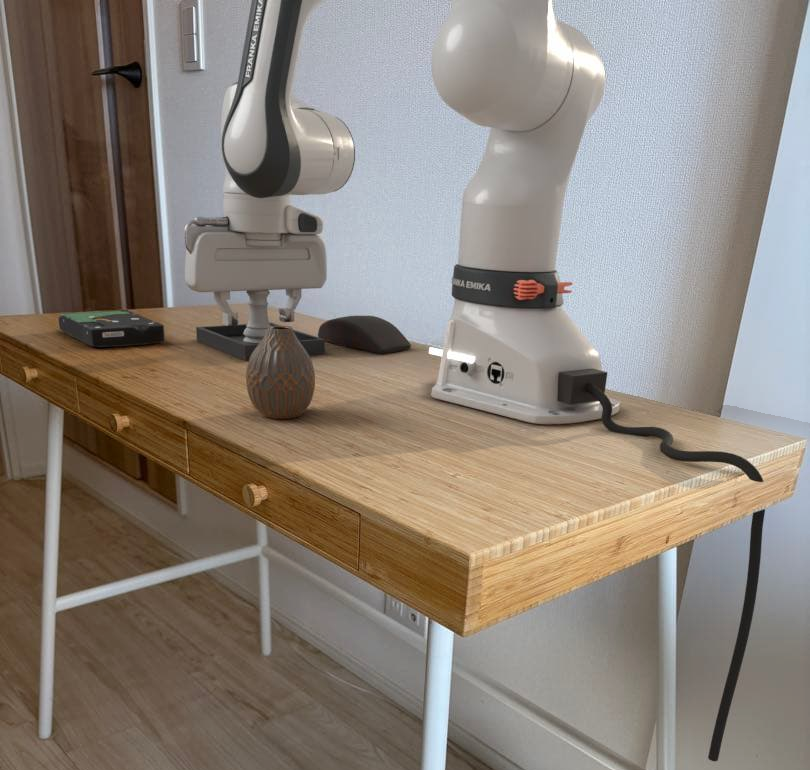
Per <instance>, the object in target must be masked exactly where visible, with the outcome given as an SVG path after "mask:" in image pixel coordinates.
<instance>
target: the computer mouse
mask: <svg viewBox="0 0 810 770" xmlns="http://www.w3.org/2000/svg"><path fill="white" fill-rule="evenodd" d="M317 337H318V338H321V339H324V340H325V342H326V343H329V344H333V345H338V346H343V347H347V348H350V349H356V350H359V351H360V350H361V351H365V352H370V353H375V354H380V355H385V354H390V353H396V352H403V351H409V350H410V349H411V348H412V347H411V346H412V345H411V343H410V341H409V339H407V338H406V336H405V335H404V334H403V333H402V332H401V331H400V329H398V328H397V327H396V326H395V325H394V324H393V323H391V322H390V321H388V320H386V319H384V318H381V317H379V316H374V315H348V316H341V317H337V318H332V319H329V320H326V321H325V322H323V323H321V324H320V326H319V327H318V333H317Z"/></svg>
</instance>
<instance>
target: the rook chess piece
mask: <svg viewBox="0 0 810 770" xmlns="http://www.w3.org/2000/svg"><path fill="white" fill-rule="evenodd" d="M245 292H246V294H247V296H248V297H249V301H248V303H247V304H248V305H249V313H248V315H249V316H248V321H247V323H246V324H247V325H246V326H247V328H246V329H245V330H244V333H243V334H244V335H245V336H246V337H245V338H244V339H243V341H244V342H245V344H259V343H260V342H261V341H262V339H263V338H264V336H265V334H266V332H267V329H268V327H270V326H271V325H270V324H269V323H270V320H269V315H268V306H269V302H268V297H269V295H270V293H271V292H270V290H254V291H245Z"/></svg>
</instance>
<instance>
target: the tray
mask: <svg viewBox="0 0 810 770" xmlns="http://www.w3.org/2000/svg"><path fill="white" fill-rule="evenodd" d="M247 324H248V323H240V324H239V323H238V325H232V326H226V325H224V324H223V325H208V326H196V328H195V330H196V341H197V342H198V343H200V344H203V345H205V346H208V347H211V348H213V349H215V350H217V351H220V352H223V353H226V354H228V355H230V356H232V357H235V358H237V359H240V360H243V361H245V362H247V361H248V362H249V359H250V357H251V355H252V353H253V351H254V350H255V349H256V347H257V346H258V344H245V342H244V341H243V339H244V338H245V337H246V336H245V335H244V334H243V333H244V330H245V329H246V328H247V326H246V325H247ZM269 324H270V325H271V326H282V325H281V324H277V323H274V322H269ZM293 331H294V333H295V336H296V337H297V339H298V341H299V342H300V343H301V345H302V346H303V347H304V349H305V350H306V351H307V353H308V354H309V356H314V355H315V356H316V355H325V354H326V353H325V352H326V349H325V348H326V347H325V346H326V343H325V342H326V341H325V340H324V339H321V338H319V337H318V336H315V335H312V334H310V333H309V334H308V333H306V332H303V331H299V330H296V329H293Z"/></svg>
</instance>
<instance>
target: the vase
mask: <svg viewBox="0 0 810 770" xmlns="http://www.w3.org/2000/svg"><path fill="white" fill-rule="evenodd" d="M293 330H294V329H293V327H291V326H289V325H281V326H270V327H268V329H267V332H266V334H265V336H264V338H263V339H262V341H261V342H260V343H259V344H258V346H257V347H256V349H255V350H254V351H253V353H252V355H251V357H250V359H249V361H248V363H247V366H246V373H245V383H246V384H245V385H246V391H247V394H248V397H249V400H250V402H251V404H252V406H253V407H254V409H256V410H257V412H258V413H260V414H261V416H263V417H265V418H269V419H276V420H284V419H285V420H286V419H295V418H297V417H300V416H301V415H302V414H303V413H304V412H305V411H306V410H307V409H308V408H309V406H310V405H311V402H312V401H313V397H314V394H315V389H316V373H315V372H316V371H315V367H314V364H313V360H312V358H311V355H309V354H308V353H307V351H306V350H305V349H304V347H303V346H302V345H301V343H300V342H299V341H298V339H297V337H296V336H295V333H294V331H293Z"/></svg>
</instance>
